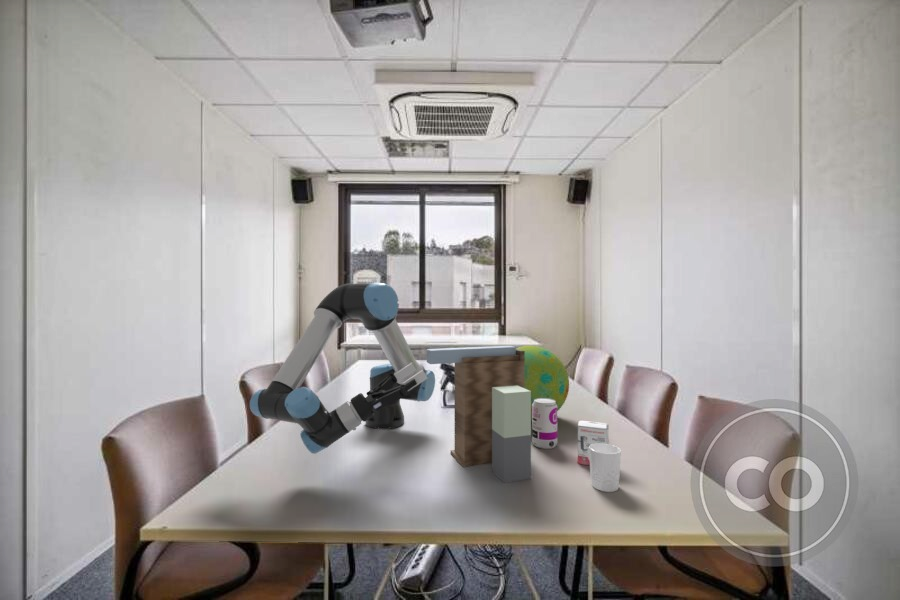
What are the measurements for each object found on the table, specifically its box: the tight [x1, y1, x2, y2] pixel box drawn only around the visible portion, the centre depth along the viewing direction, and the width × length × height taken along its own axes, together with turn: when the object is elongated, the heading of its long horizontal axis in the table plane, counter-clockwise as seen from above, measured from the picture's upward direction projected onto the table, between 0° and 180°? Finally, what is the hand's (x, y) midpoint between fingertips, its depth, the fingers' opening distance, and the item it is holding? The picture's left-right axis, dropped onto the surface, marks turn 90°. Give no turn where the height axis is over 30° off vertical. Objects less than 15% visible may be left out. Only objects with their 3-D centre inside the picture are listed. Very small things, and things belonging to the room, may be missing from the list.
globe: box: [516, 345, 570, 422], centre depth 170 cm, size 30×30×30 cm
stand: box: [450, 349, 525, 467], centre depth 130 cm, size 22×11×33 cm, turn 108°
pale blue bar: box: [426, 345, 517, 365], centre depth 128 cm, size 28×4×4 cm, turn 108°
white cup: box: [589, 443, 622, 493], centre depth 109 cm, size 8×8×10 cm
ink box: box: [577, 420, 609, 466], centre depth 124 cm, size 9×5×12 cm, turn 68°
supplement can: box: [531, 398, 558, 450], centre depth 139 cm, size 8×8×15 cm
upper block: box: [492, 385, 532, 438], centre depth 116 cm, size 8×8×12 cm
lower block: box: [491, 430, 532, 484], centre depth 116 cm, size 8×8×12 cm
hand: (419, 369), depth 123 cm, fingers open, 13 cm apart
